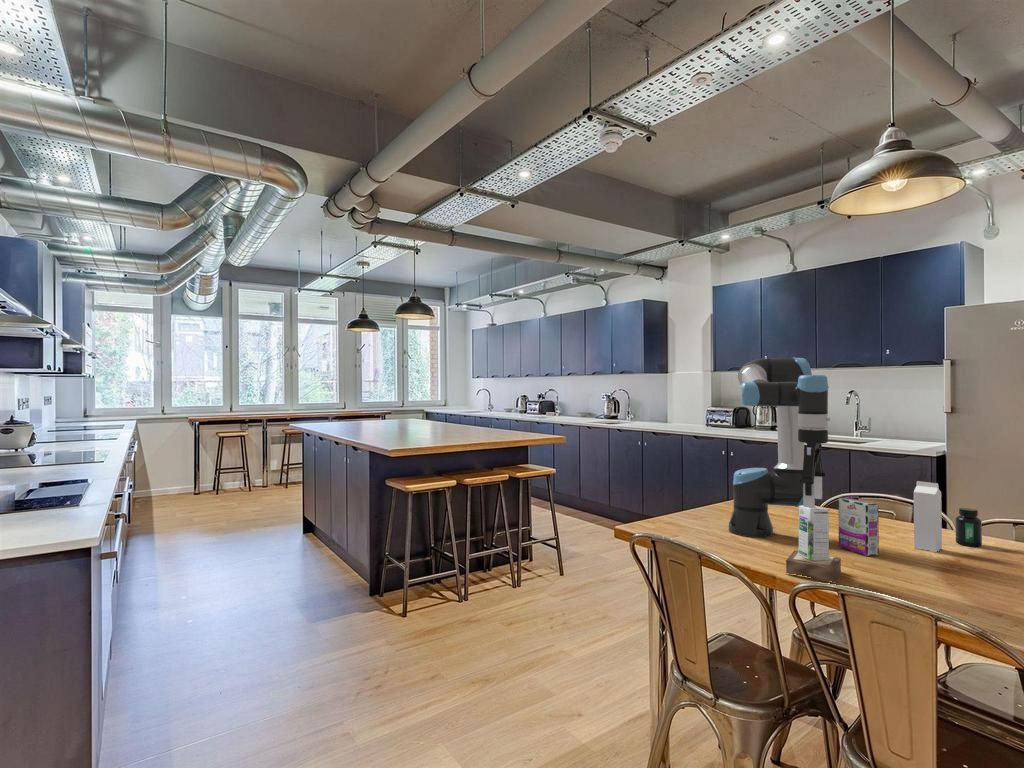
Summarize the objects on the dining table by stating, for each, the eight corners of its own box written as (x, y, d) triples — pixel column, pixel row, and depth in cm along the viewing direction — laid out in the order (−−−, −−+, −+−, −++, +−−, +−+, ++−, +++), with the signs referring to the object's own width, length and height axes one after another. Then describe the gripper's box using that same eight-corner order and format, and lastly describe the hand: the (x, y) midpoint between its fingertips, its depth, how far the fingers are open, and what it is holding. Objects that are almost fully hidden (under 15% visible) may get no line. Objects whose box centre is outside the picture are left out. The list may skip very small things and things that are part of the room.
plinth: (786, 574, 154) (786, 559, 154) (794, 563, 163) (794, 549, 163) (835, 583, 147) (835, 567, 147) (840, 571, 156) (840, 556, 156)
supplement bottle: (974, 548, 180) (973, 512, 180) (951, 543, 186) (950, 508, 186) (986, 546, 182) (986, 510, 182) (963, 541, 189) (963, 506, 189)
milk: (936, 553, 175) (935, 484, 175) (913, 548, 180) (913, 481, 180) (942, 549, 178) (941, 482, 179) (920, 545, 183) (919, 480, 183)
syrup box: (797, 555, 158) (797, 505, 158) (817, 554, 158) (816, 504, 158) (810, 561, 152) (809, 509, 152) (830, 560, 152) (829, 509, 153)
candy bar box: (880, 555, 172) (879, 503, 172) (867, 556, 170) (866, 504, 171) (849, 546, 182) (849, 497, 183) (837, 547, 181) (837, 497, 181)
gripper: (821, 432, 143) (821, 512, 143) (833, 426, 163) (834, 496, 163) (789, 431, 148) (789, 509, 148) (805, 425, 168) (806, 493, 168)
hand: (813, 502), depth 156 cm, fingers open, 13 cm apart
